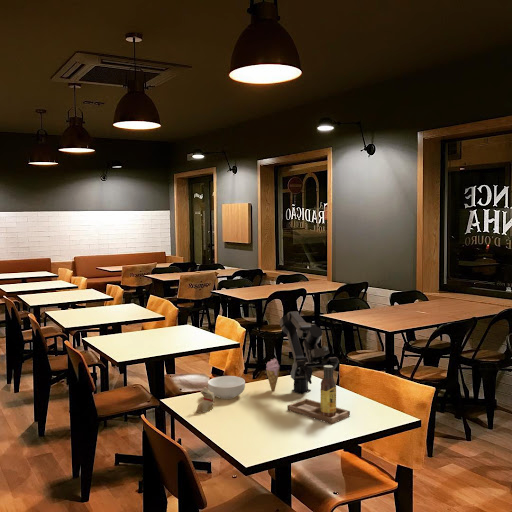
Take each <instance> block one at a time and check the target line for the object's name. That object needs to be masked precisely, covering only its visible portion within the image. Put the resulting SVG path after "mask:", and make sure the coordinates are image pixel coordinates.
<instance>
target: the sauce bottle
mask: <svg viewBox="0 0 512 512" xmlns="http://www.w3.org/2000/svg"><path fill="white" fill-rule="evenodd" d="M322 367H323V378H322V379H321V382H320V403H321V415H324V416H327V417H333V416H335V414H336V407H337V385H336V381H335V378H334V370H333V366H332V365H325V366H322Z"/></svg>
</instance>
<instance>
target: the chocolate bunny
mask: <svg viewBox="0 0 512 512" xmlns="http://www.w3.org/2000/svg"><path fill="white" fill-rule="evenodd" d="M200 394H201V395H202V397H203V399H202V400H201V401H199V402H198V404H197V407H196V413H207V411H208V412H211V411H212V409H213V410H214V403H215V401H214V400H215V396H214V393H213V392H210V391H209V389H208V388H207V387H206V386H203V389H202V390H201V391H200ZM210 410H211V411H210Z"/></svg>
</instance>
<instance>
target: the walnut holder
mask: <svg viewBox="0 0 512 512" xmlns="http://www.w3.org/2000/svg"><path fill="white" fill-rule="evenodd" d="M286 409H287V411H289V412H291V413H295V414H298V415H302V416H304V417H308V418H311V419H314V418H315V420H317V419H318V420H317V421H320V420H322V421H321V422H323V421H325V422H324V423H327V422H328V423H327V424H330V423H331V424H330V425H332V424H335V423H336V421H337V422H339V421H342V420H344V419H346V418H348V417H347V416H349V415H350V416H351V410H348V409H343V408H342V407H341V408H340V407H337V406H336V414H335V416H333V417H327V416H324V415H321V401H320V402H319V401H316V400H312V399H310V398H304V399H301V400H299V401H297V402H293V403H291V404H288V405H287V407H286ZM350 416H349V417H350ZM345 417H346V418H345ZM343 418H344V419H343ZM341 419H342V420H341ZM338 420H339V421H338ZM334 422H335V423H334Z"/></svg>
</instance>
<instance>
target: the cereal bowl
mask: <svg viewBox="0 0 512 512" xmlns="http://www.w3.org/2000/svg"><path fill="white" fill-rule="evenodd" d="M207 387H208V388H207V389H208V390H209V391H210V392H213V393H214V397H218V399H221V398H222V399H223V400H230V399H234V398H235V397H237V396H239V395H241V394H242V393H244V390H245V387H246V381H245V379H244V378H243V377H239V376H235V375H222V376H215V377H213V378H211V379H208V381H207Z"/></svg>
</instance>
